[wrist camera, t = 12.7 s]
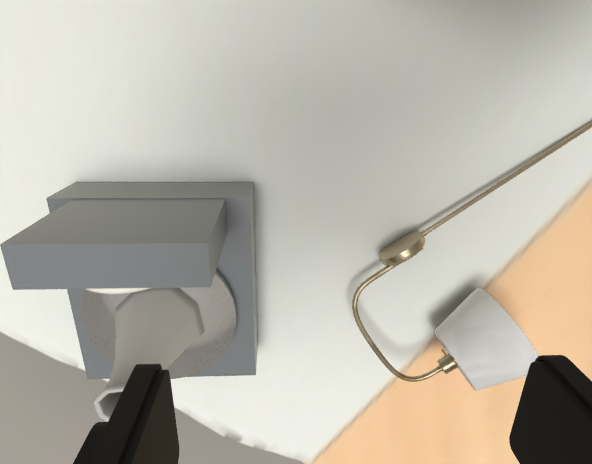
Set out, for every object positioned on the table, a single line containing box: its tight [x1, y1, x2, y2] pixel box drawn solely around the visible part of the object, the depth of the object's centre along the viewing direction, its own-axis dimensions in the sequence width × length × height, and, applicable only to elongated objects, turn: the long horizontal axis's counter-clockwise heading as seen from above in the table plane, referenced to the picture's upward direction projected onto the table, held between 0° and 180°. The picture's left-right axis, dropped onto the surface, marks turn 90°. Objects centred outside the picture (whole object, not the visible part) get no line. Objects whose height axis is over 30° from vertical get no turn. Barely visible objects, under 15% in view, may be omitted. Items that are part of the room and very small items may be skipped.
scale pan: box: [82, 270, 237, 379], centre depth 35 cm, size 13×13×1 cm
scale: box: [0, 182, 258, 379], centre depth 33 cm, size 16×18×14 cm
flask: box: [93, 288, 205, 422], centre depth 30 cm, size 7×7×10 cm
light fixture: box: [352, 122, 592, 391], centre depth 38 cm, size 9×18×40 cm
